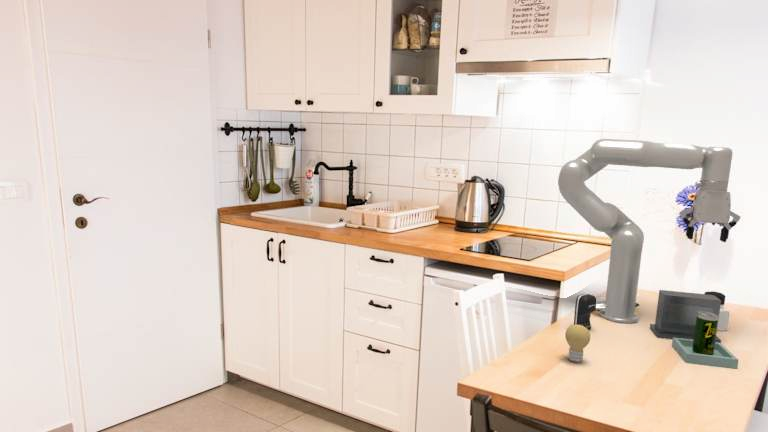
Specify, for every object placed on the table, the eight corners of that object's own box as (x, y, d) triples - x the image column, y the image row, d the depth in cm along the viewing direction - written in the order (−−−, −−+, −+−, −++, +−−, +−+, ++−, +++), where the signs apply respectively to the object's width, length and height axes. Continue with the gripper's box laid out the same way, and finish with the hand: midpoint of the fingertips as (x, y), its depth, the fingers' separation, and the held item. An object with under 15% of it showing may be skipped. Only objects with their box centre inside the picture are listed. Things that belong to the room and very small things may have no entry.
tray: (685, 362, 154) (686, 353, 154) (671, 345, 167) (672, 337, 167) (737, 368, 152) (738, 359, 152) (719, 351, 165) (720, 342, 164)
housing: (657, 337, 173) (662, 295, 171) (649, 328, 182) (654, 288, 180) (720, 344, 170) (726, 302, 168) (709, 334, 179) (715, 294, 177)
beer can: (687, 351, 161) (692, 311, 159) (701, 350, 163) (707, 310, 161) (703, 358, 156) (708, 317, 154) (717, 357, 158) (723, 316, 156)
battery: (583, 333, 173) (586, 298, 172) (572, 330, 176) (575, 295, 175) (595, 329, 178) (598, 295, 176) (584, 326, 181) (588, 292, 179)
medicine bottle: (727, 331, 183) (732, 296, 181) (705, 330, 183) (710, 295, 181) (714, 324, 190) (719, 290, 188) (693, 323, 190) (698, 289, 188)
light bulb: (558, 357, 154) (561, 322, 152) (575, 354, 156) (579, 320, 155) (574, 366, 148) (578, 330, 146) (592, 363, 150) (596, 328, 149)
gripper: (687, 185, 173) (680, 239, 175) (749, 189, 169) (741, 244, 172) (680, 183, 180) (673, 235, 183) (739, 187, 177) (731, 240, 179)
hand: (706, 239), depth 177 cm, fingers open, 9 cm apart
